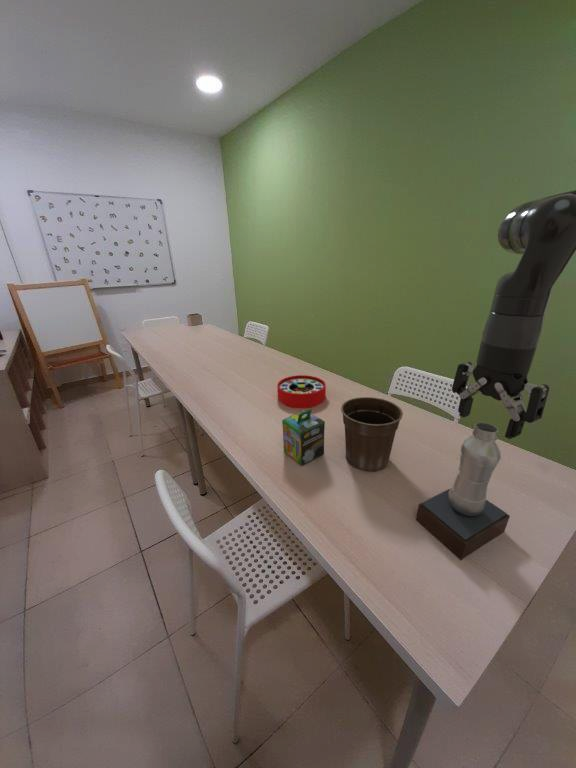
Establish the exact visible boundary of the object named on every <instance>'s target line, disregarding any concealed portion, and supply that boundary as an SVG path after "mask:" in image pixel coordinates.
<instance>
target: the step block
mask: <svg viewBox="0 0 576 768" xmlns="http://www.w3.org/2000/svg"><path fill="white" fill-rule="evenodd" d="M449 491H450V488H448V489H446V490H445V491H442V492H440V493H439V494H438V493H437V494H436V495H434V496H433V497H430V498H428V499H426V500H424V501H422V502H419V503H418V506H417V511H416V516H415V521H416V522H417V523H419V524H420V525H421V527H423V528H424V529H425V530H426V531H427V532H429V533H430V534H431V535H432V536H433V537H434V538H435V539H436V540H437V541H438V542H440V543H441V544H442V545H443V546H444V547H445V548H446V549H447V550H448V551H450V552H451V553H452V554H453V555H454V556H455V557H456V558H457V559H459V560H460V561H462V560H464V559H465V558H467V557H468V556H470V555H471V554H473V553H474V552H475V551H477V550H478V549H480V548H482V547H484V546H485V545H486V544H488V543H489V542H492V540H495V539H496V538H498V537H499V536H500V535H502V534H503V533H505V532H506V528H507V526H508V522H509V520H510V518H511V515H509V514H508V513H507V512H506V511H504V510H503V509H502V508H499V507H498V506H496V504H494V503H492V502H490V501H489V500H488V499H486V503H485V508H484V509H483V511H482V512H481V513H480V514H479V515H476V516H466V515H463V514H461V513H459V512H457V511H456V510H455V509H454V508H453V507H452V506H451V504H450V502H449Z"/></svg>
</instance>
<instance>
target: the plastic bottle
mask: <svg viewBox="0 0 576 768" xmlns="http://www.w3.org/2000/svg"><path fill="white" fill-rule="evenodd" d="M498 433H499V429H498V427H496V426H495V425H494V424H492V423H488V422H476V423H475V424H474V427H473V430H472V435H471V436H469V437H467V438H466V439H465V440H464V441H463V442H462V443H461V446H460V453H459V464H458V470H457V474H456V476H455V479H454V481H453V483H452V485H451V487H450V488H449V489H450V491H449V502H450V504H451V506H452V507H453V508H454V509H455V510H456V511H457V512H459V513H461V514H463V515H466V516H476V515H479V514H480V513H481V512H482V511H483V509H484V508H485V503H486V500H487V491H488V487H489V483H490V480H491V478H492V475H493V473H494V471H495V469H496V468H497V466H498V464H499V463H500V461H501V457H502V455H501V453H502V452H501V449H500V448H499V446H498V444H497V442H496V441H497V440H498Z"/></svg>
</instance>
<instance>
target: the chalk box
mask: <svg viewBox="0 0 576 768" xmlns="http://www.w3.org/2000/svg"><path fill="white" fill-rule="evenodd" d="M281 422H282V439H283V440H282V441H283V451H284V453H285V454H287V455H288V456H289V457H290V458H292V459H293V460H294V461H295V462H296V463H298V465H300V466H304V465H306V464H307V463H309V462H311V461H313V460H315V459H316V458H317V459H318V458H319V457H320V456H322V455H324V454H325V428H326V427H325V425H326V421H324V420H323V419H321V418H319V416H316V415H315V414H313V413H312V408H309V409H307V410H306V409H304V410H301V411H299V412H297V413H294V414H292V415H289V416H288V417H286V418H285V417H284V418H283V419H282V421H281Z"/></svg>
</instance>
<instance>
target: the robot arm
mask: <svg viewBox="0 0 576 768" xmlns="http://www.w3.org/2000/svg"><path fill="white" fill-rule="evenodd" d="M497 240H498V244H499V245H500V247H501V248H502V249H503V250H505V251H506V252H508V253H511V254H515V255H522V256H521V258H520V260H519V262H518V264H517V266H516V268H515V269H514V270H513V271H510V272H508V273H505V274H502V275H501V276H500V277H499V279H498V281H497V283H496V285H495V288H494V293H493V297H492V302H491V304H490V310H489V313H488V316H487V317H486V318H487V319H486V321H485V324H484V327H483V331H482V334H481V335H482V336H481V339H480V344H479V349H478V352H477V358H476V365H473V363H472V362H471V361H467V362H463V363H459V364H458V366H457V368H456V371H455V375H454V379H453V383H452V386H451V392H453V393H454V394H455V393H456V394H457V395H458V396H459V399H460V400H459V403H458V408H457V411H458V412H457V413H459V414H458V416H459V417H461V418H462V419H463V418H467V417H469V416H470V414H471V411H472V406H473V402H474V397H473V396H475V395H476V394H478V393H481V395H483V396H486V397H491V398H492V399H494V400H497V401H498V402H499V401H502V404H503V406H504V408H505V409H507V411H508V413H509V415H510V417H511V418H510V419H509V421H508V425H507V428H506V431H505V434H504V438H506V439H508V440H512V439H515V438H516V437H518V436H520V435H521V434H522V431H523V428H524V425H525V423H529V424H532V423H534V422H536V421H539V420H541V419H542V417H543V414H544V412H545V410H544V409H545V407H546V403H547V399H548V395H549V392H550V387H549V385H548V384H541V385H539V384H535V383H531V382H529V380H528V375H529V373H530V371H531V367H532V364H533V360H534V358H535V354H536V352H537V348H538V344H539V342H540V338H541V335H542V331H543V327H544V321H545V314H546V312H547V310H548V306H549V302H550V299H551V295H552V292H553V288H554V286H555V284H556V283H557V281H558V280H559V279H560V278H561V276H562V274H563V273H564V271H565V269H566V268H567V266H568V265H569V263H570V261H571V259H572V258H573V256H574V255H575V253H576V189H574V190H569V191H564V192H562V193H561V192H560V193H557V194H553V195H549V196H545V197H541V198H538V199H534V200H530V201H526V202H523V203H521V204H520V205H518V206H516V207H514V208H513V209H512V210H510V212H508V213H507V215H505V217H504V218H503V219H502V221H501V222H500V224H499V227H498V230H497ZM470 376H473V378H474V381H475V382H474V383H473V384H471V385H469V386H467V385H468V381H469V377H470ZM524 391H526V397H528V398H529V399H528V404H527V408H526V406H525V400H524V398H523V394H522V392H524Z"/></svg>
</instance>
